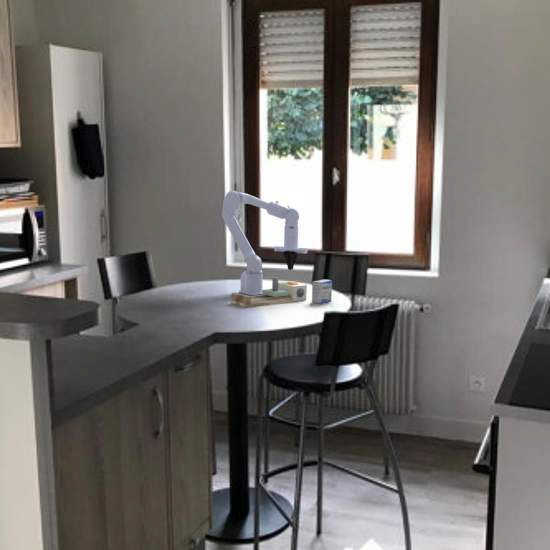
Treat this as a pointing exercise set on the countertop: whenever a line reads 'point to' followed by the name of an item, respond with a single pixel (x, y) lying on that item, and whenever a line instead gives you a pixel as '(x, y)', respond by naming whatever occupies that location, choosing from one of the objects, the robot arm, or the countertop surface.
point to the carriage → (275, 290)
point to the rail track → (258, 300)
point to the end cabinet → (294, 290)
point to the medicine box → (321, 291)
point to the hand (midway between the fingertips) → (290, 269)
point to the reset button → (292, 283)
